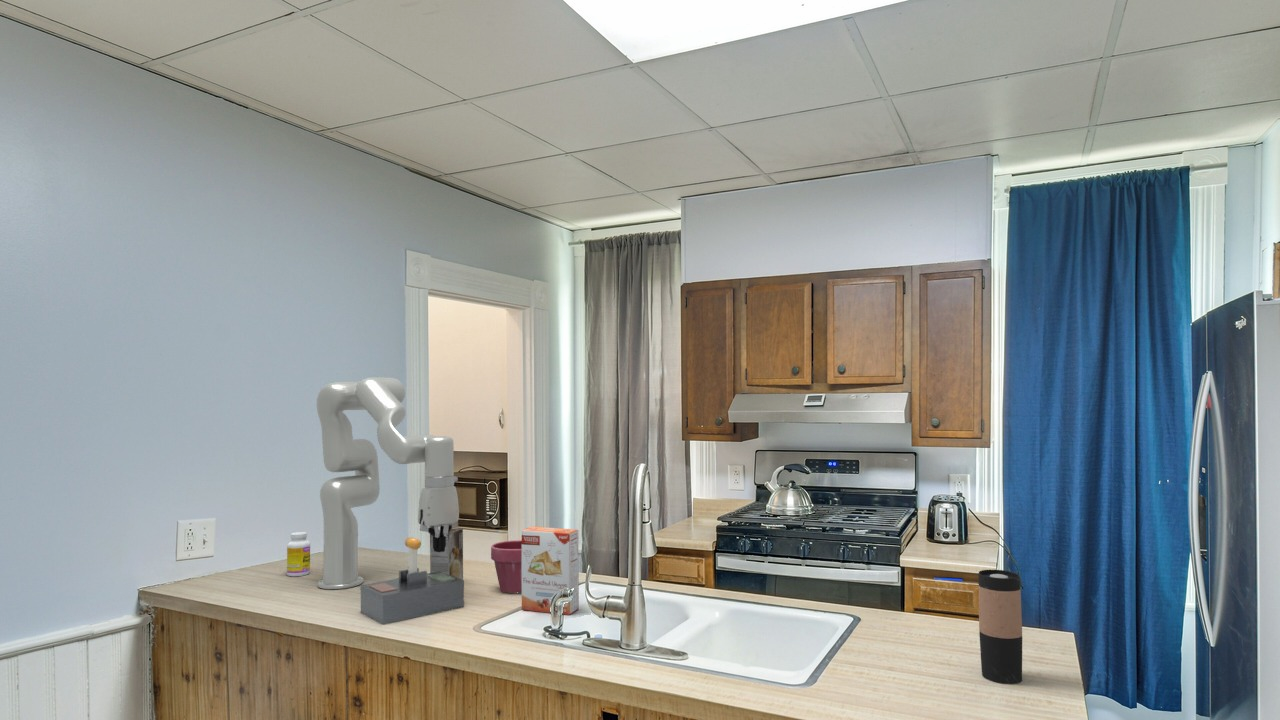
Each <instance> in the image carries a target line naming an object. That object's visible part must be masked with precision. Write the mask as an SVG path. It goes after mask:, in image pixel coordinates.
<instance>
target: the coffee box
mask: <svg viewBox="0 0 1280 720" xmlns="http://www.w3.org/2000/svg"><path fill="white" fill-rule="evenodd" d="M429 562H430V563H429V565H430V566H429V571H430V572H429V573H432V572H438V571H440V572H443V573H445V574H448V575H451V576H453V577H456V578H459V579H462V580H464V529H463V528H453V529H451V530H450V531H449V532H448V535H447V536H446V547H445V551H444V552H436V551H434V549H433V536H431V534H430V533H429Z"/></svg>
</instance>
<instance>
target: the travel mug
mask: <svg viewBox="0 0 1280 720" xmlns="http://www.w3.org/2000/svg"><path fill="white" fill-rule="evenodd" d="M977 575H978V576H977V577H978V578H977V579H978V583H977V584H978V623H979V624H978V631H979V633H978V634H979V645H980V648H979V650H980V663H981V664H980V665H981V667H980V668H981V675H982V678H984V679H986V680H988V681H989V682H994V683H997V684H1004V685H1015V684H1020V683H1021V682H1022V680H1023V618H1022V615H1023V614H1022V595H1021V594H1022V593H1021V589H1022V588H1021V576H1020V574H1019V573H1016V572H1014V571H1008V570H1004V569H982V570H979V571H978V573H977Z"/></svg>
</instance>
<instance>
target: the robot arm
mask: <svg viewBox="0 0 1280 720" xmlns="http://www.w3.org/2000/svg"><path fill="white" fill-rule="evenodd" d="M405 397H406V390H405V386H404V385H403V383H402V381H401V380H399V379H397V378H395V377H379V376H378V377H377V376H376V377H373V376H372V377H366V378H364V379H361V380H360V381H335V382H330V383H327V384H326V385H323V386H322V388H320V390H319V392H318V394H317V398H316V410H317V415H318V418H319V421H320V426H321V441H322V456H323V463H324V467H325V469H326V470H327V471H329V472H330V473H346V472H354V474H355V475H346V476H345V475H344V476H337V477H333V478H330V479H328V480H326V481H325V482H324V483H323V484H322V485H321V487H320V491H319V498H320V503H321V508H322V509H321V510H322V517H323V520H322V521H323V568H322V569H323V573H322V574H323V578H322V579H320V580H319V581H317V587H318V588H320V589H324V590H343V589H348V588H349V589H350V588H354V587H356V586H361V585H363V583H364V578H363V577H362V576H360V575H359V573H358V570H359V569H358V568H359V566H358V564H359V562H358V561H359V556H358V555H359V550H358V549H359V524H358V519H357V517H356V515H355V513H354V512H353V510H352V509H353V508H358V507H364V506H370V505H372V504H374V503H376V501H377V500H378V498H379V496H380V489H381V488H380V473H379V471H380V470H379V458H378V457H379V456H378V452H377V449H376V447H375V445H374V443H372V442H371V441H370V440H368V439H366V438H358V439H357V438H356V439H354V437H353V427H352V422H351V421H350V419H349V417H348V416H347V415H346V413H344V411H364V410H365V411H366V412H367V413H368V414H369V415H370V417H371V418H372V419H373V420H374V421H375V423H377V425H378V426H377V428H376V434H377V435H376V436H377V441H378V444H379V447H380V449H381V450H383V452H384V453H385V455H387V457H388V458H389V459H390V460H392V461H393V463H396V464H399V465H409V464H417V463H418V464H419V463H424V487H423V488H421V490H420V496H419V501H418V509H417V510H418V511H417V515H418V516H417V522H418V524H419V531H421V532H425V533H428V534H429V535H430V534H431V536H433V549H434V551H436V552H444V551H445V547H446V536H447V535H448V532H449V531H450V530H451V529H456V528H457V527H458V526H459V519H460V507H459V499H458V498H459V497H458V492H457V488H456V486H454V485H455V483H457V482H458V481H459V479H458V476H455V474H454V473H455V472H454V471H455V470H454V450H455V449H454V440H453V438H452V437H451V436H446V435H445V436H442V435H440V436H439V435H437V436H436V435H433V434H416V435H415V434H414V435H402V434H401V433H400V432H399V431H398V430H397V429H396V427H397V426H399V425H400V424H401V423H402V422H403V420H404V419H405V416H406V413H407V410H406V408H405V406H404V404H402V403H403V402H404V400H405Z"/></svg>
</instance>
